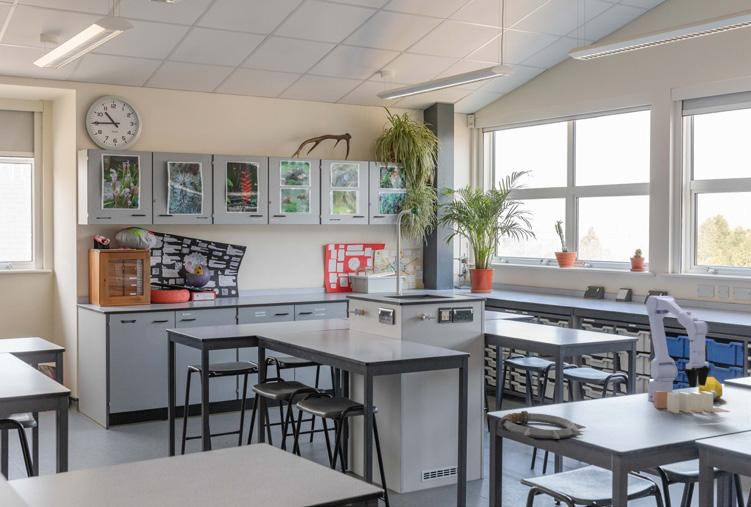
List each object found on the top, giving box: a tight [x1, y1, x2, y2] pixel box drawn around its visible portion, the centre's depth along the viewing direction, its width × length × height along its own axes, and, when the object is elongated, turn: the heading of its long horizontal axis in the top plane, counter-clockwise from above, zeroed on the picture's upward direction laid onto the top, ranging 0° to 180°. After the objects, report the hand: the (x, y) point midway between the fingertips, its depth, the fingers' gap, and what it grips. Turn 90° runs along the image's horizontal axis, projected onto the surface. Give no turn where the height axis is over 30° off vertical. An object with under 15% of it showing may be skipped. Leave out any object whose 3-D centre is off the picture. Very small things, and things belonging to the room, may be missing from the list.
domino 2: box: [666, 391, 680, 413], centre depth 327 cm, size 2×5×7 cm, turn 14°
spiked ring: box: [498, 410, 587, 440], centre depth 291 cm, size 33×5×30 cm
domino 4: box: [689, 391, 702, 412], centre depth 329 cm, size 2×5×7 cm, turn 14°
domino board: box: [659, 407, 731, 415], centre depth 329 cm, size 26×8×1 cm, turn 104°
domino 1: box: [653, 391, 668, 409], centre depth 334 cm, size 2×5×7 cm, turn 104°
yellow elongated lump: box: [698, 376, 723, 402], centre depth 356 cm, size 10×30×10 cm, turn 163°
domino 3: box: [678, 391, 691, 412], centre depth 328 cm, size 2×5×7 cm, turn 14°
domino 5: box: [701, 391, 714, 412], centre depth 330 cm, size 2×5×7 cm, turn 14°
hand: (697, 386), depth 330 cm, fingers open, 7 cm apart
